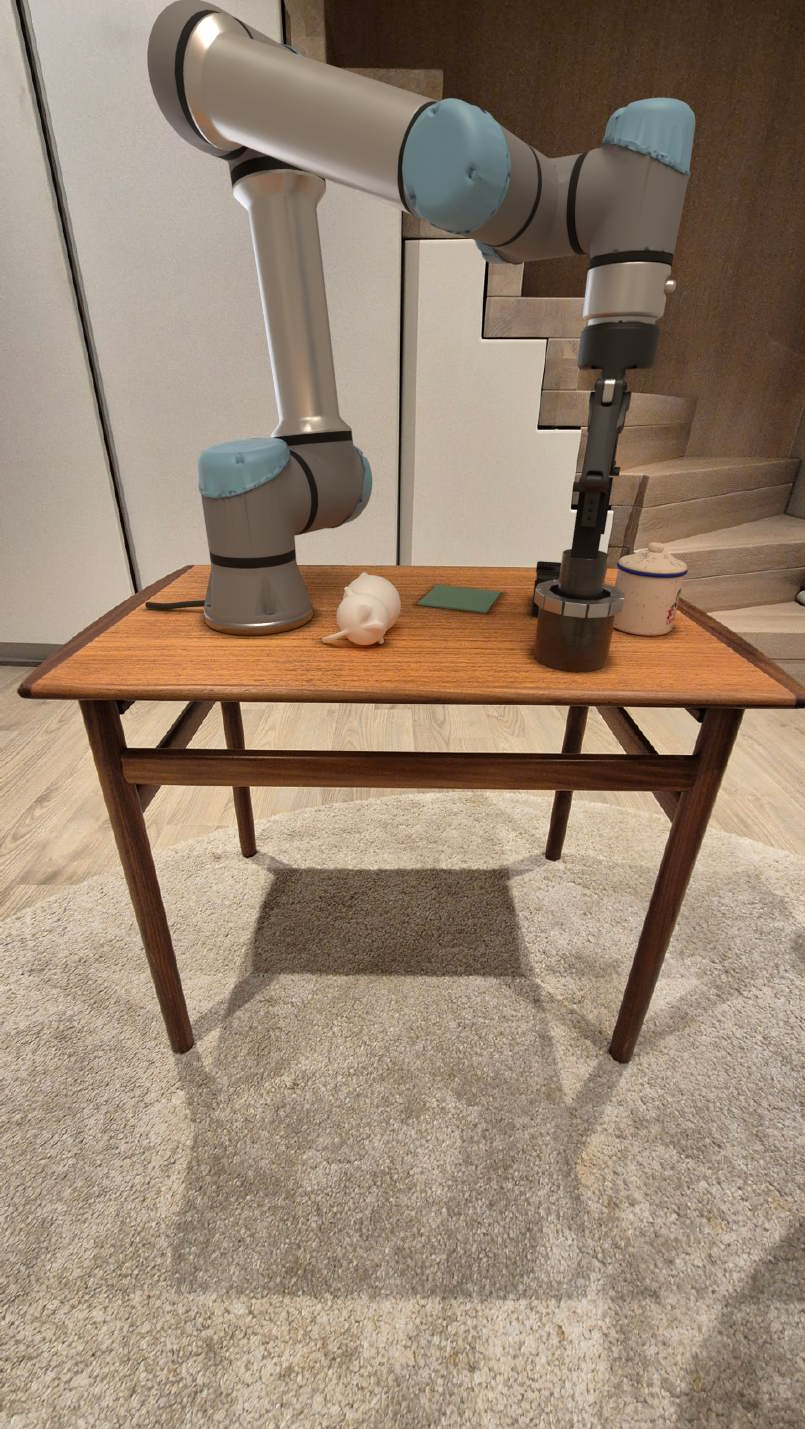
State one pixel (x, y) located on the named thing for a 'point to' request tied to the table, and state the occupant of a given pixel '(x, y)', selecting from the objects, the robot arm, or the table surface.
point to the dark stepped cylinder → (576, 620)
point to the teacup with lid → (649, 591)
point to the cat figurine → (367, 610)
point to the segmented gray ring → (579, 602)
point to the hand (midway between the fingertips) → (588, 544)
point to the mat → (460, 598)
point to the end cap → (545, 578)
